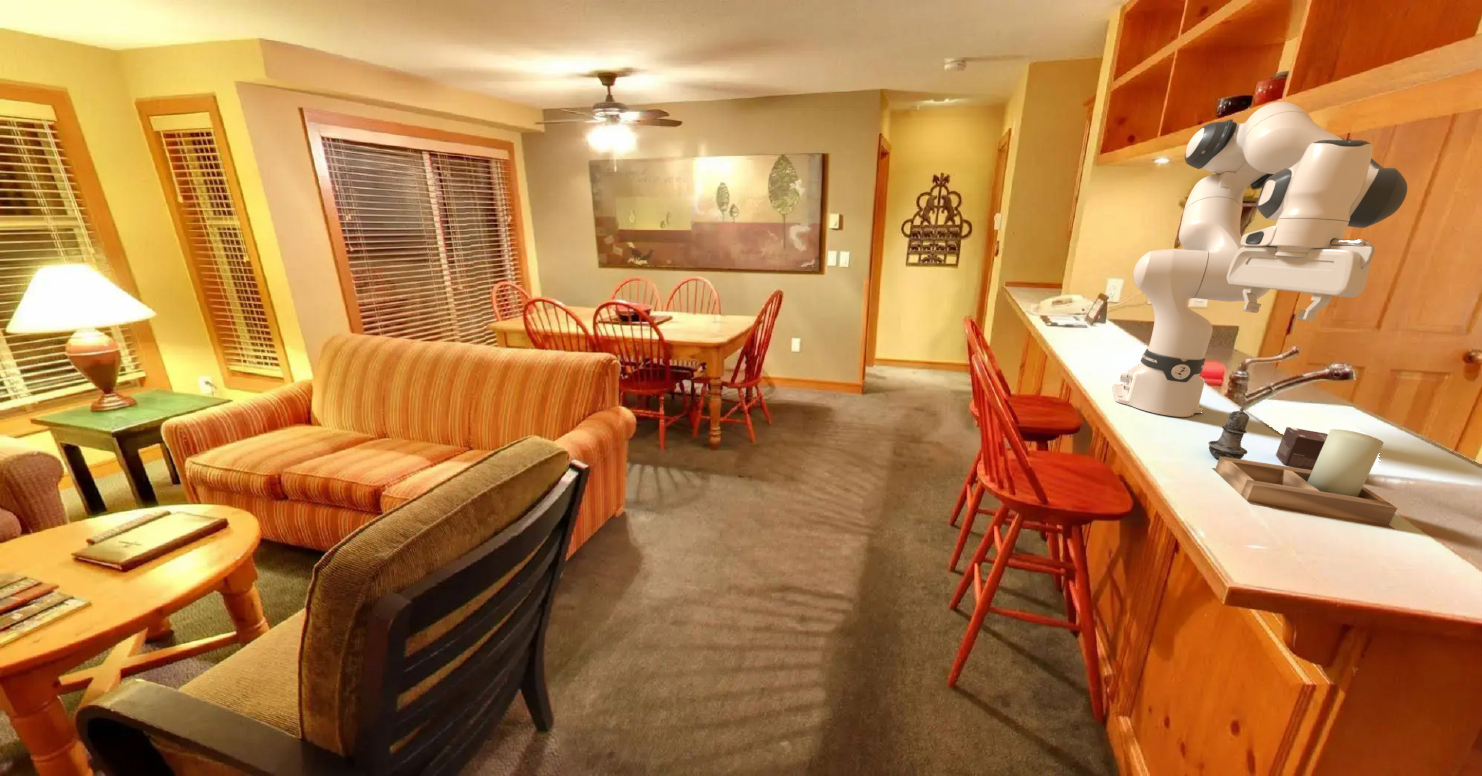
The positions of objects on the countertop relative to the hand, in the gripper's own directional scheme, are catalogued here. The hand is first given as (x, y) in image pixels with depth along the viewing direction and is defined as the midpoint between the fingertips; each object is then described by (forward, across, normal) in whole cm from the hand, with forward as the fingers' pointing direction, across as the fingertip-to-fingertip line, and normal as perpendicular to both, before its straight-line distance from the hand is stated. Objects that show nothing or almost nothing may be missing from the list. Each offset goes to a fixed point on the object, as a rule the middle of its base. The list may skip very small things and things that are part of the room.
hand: (1276, 316), depth 97 cm
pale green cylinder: (+29, -16, -3) cm, 33 cm away
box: (+29, -2, -15) cm, 33 cm away
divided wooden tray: (+30, -14, +1) cm, 33 cm away
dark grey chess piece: (+30, 0, 0) cm, 30 cm away
